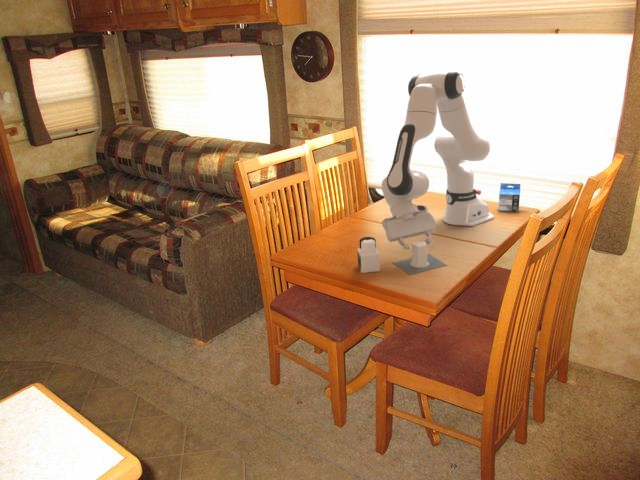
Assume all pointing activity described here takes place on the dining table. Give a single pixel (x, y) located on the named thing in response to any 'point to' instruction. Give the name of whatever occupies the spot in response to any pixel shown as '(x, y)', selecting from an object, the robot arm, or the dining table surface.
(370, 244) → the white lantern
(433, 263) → the slate pad
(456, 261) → the dining table surface
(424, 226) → the robot arm
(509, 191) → the label tape cartridge
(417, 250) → the white block
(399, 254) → the dining table surface
